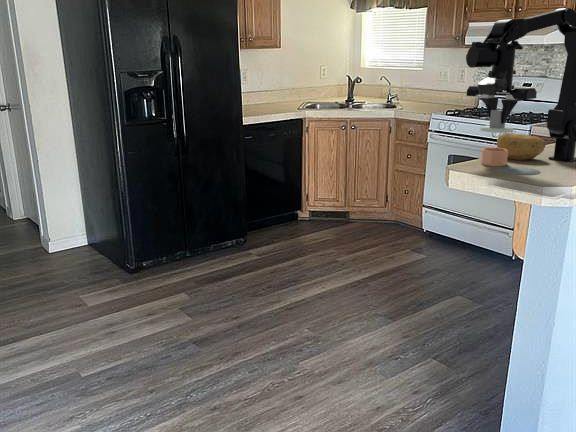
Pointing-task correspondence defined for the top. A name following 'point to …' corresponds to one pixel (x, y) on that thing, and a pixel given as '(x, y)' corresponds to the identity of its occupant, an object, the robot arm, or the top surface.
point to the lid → (496, 123)
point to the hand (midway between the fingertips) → (497, 123)
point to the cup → (493, 156)
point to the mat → (519, 171)
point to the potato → (521, 145)
